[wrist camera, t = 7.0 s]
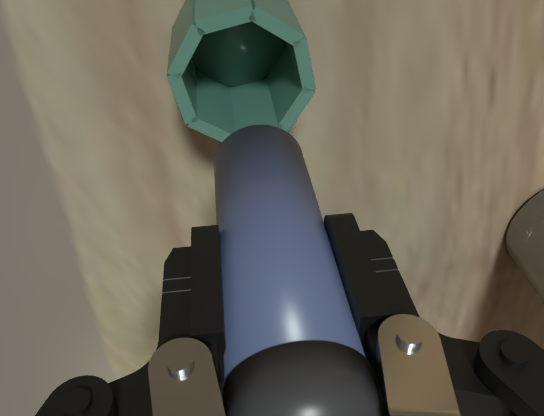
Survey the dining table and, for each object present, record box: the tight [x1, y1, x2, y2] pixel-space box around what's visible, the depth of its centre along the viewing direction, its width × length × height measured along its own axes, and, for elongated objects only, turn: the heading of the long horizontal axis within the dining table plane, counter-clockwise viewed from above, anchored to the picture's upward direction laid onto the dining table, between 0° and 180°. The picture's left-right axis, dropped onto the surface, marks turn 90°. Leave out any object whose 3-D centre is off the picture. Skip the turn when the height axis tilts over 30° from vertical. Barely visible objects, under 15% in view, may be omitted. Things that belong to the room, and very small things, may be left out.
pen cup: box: [167, 0, 316, 142], centre depth 24 cm, size 6×6×6 cm
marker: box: [214, 125, 385, 416], centre depth 13 cm, size 3×3×10 cm
